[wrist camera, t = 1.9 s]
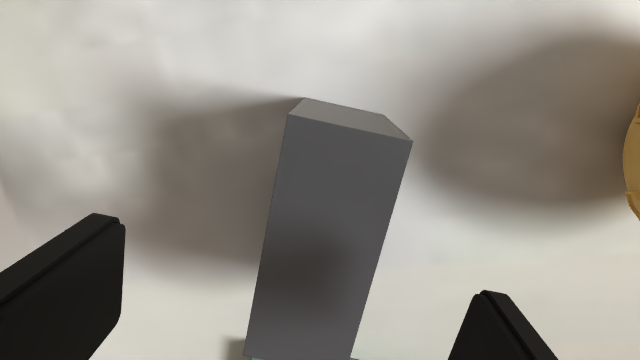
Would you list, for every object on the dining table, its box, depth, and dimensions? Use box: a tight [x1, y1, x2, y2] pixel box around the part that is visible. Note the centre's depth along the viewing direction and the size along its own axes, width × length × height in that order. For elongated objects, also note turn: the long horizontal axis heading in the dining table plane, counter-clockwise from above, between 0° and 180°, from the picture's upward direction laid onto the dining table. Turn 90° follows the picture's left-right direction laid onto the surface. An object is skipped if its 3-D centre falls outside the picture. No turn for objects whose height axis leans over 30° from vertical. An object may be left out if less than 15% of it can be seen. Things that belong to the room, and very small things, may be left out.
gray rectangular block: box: [243, 98, 413, 360], centre depth 16 cm, size 4×9×7 cm, turn 168°
